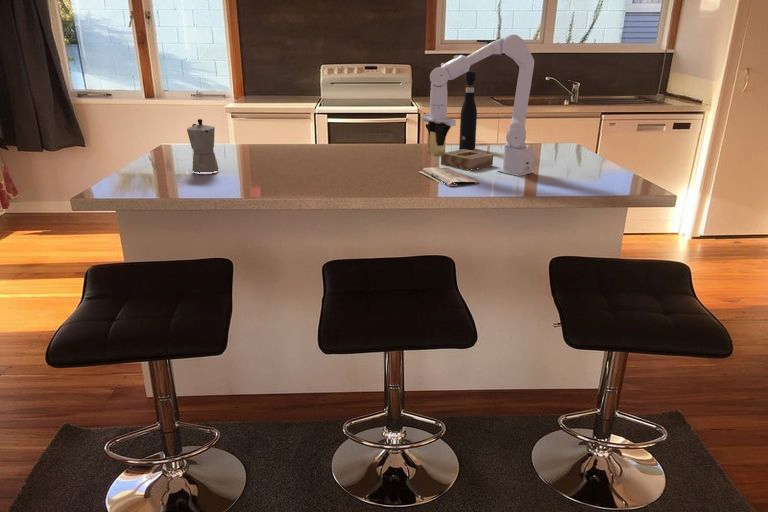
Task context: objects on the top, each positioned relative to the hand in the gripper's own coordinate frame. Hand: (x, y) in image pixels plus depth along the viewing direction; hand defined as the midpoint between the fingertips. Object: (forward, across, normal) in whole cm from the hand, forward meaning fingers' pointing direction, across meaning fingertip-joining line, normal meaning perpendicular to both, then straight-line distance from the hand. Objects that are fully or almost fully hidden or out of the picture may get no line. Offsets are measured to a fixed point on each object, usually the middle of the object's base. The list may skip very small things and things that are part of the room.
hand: (437, 144), depth 205 cm
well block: (+8, +3, +12) cm, 15 cm away
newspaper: (+9, +12, -7) cm, 17 cm away
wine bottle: (+8, -17, +34) cm, 39 cm away
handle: (+8, -21, +18) cm, 29 cm away
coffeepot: (+8, -49, -64) cm, 81 cm away
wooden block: (+3, 0, 0) cm, 3 cm away
